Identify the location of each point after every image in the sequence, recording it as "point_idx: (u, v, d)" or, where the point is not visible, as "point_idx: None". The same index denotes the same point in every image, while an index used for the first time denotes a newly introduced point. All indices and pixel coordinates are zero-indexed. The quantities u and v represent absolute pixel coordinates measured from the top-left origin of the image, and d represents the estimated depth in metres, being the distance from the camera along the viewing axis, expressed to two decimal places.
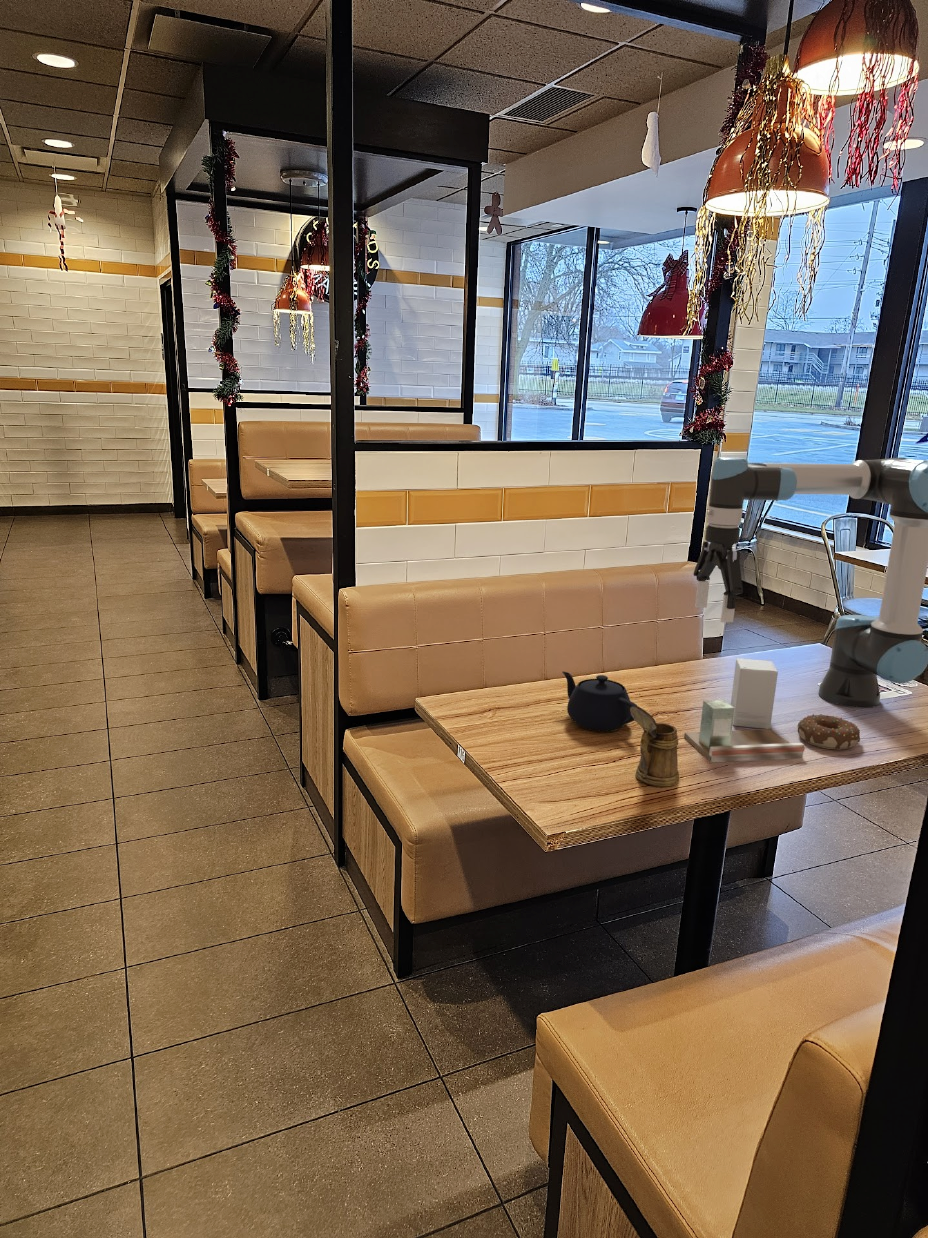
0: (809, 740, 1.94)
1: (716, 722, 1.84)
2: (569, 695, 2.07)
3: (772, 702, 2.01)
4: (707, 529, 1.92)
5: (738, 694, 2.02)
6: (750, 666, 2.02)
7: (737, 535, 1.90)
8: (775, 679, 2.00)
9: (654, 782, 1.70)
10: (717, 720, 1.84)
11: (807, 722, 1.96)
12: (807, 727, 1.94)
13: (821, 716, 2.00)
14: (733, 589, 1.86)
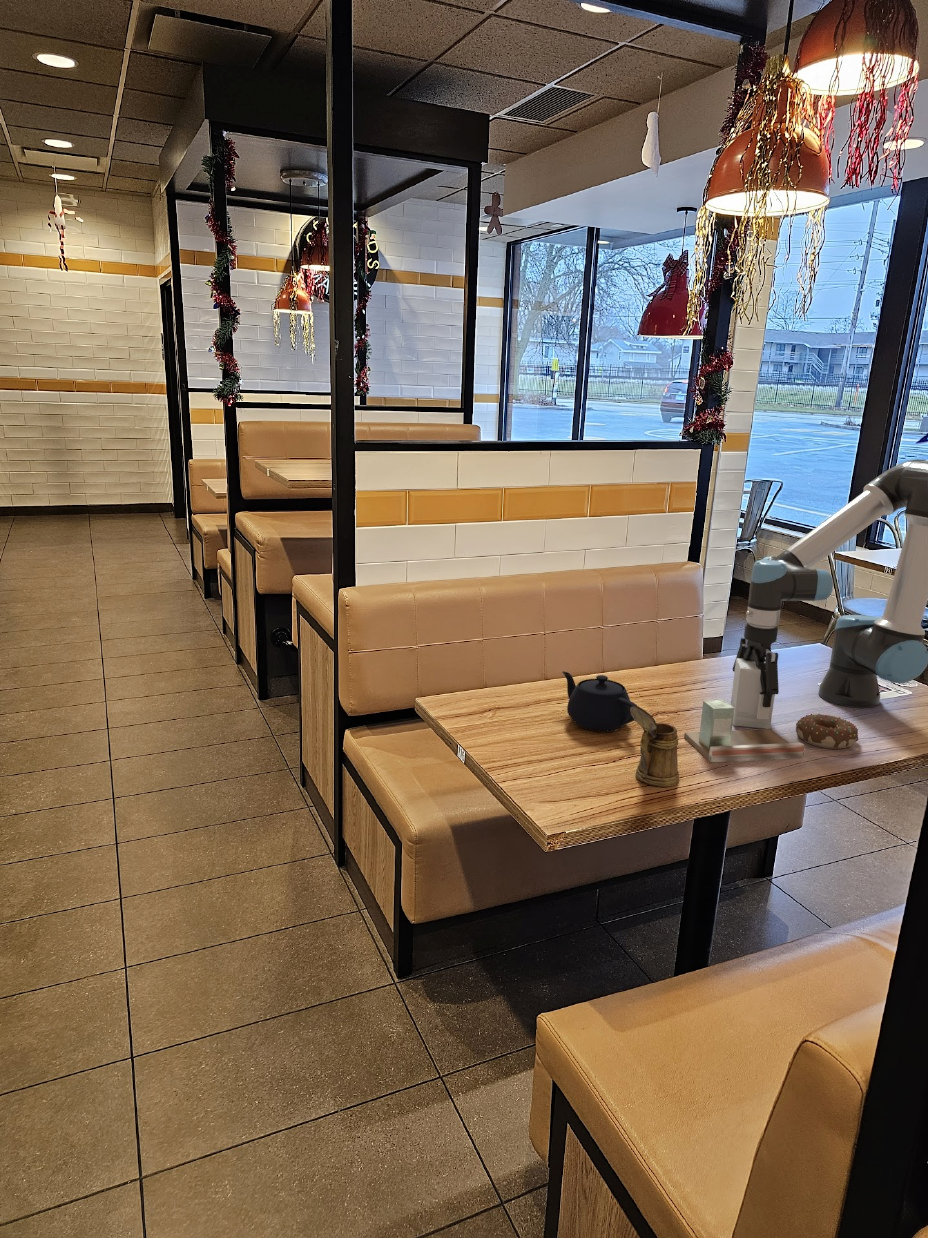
0: (807, 739, 1.94)
1: (716, 722, 1.84)
2: (569, 695, 2.07)
3: (772, 702, 2.01)
4: (746, 628, 2.01)
5: (738, 694, 2.02)
6: (750, 666, 2.02)
7: (775, 635, 1.99)
8: None
9: (654, 782, 1.70)
10: (717, 720, 1.84)
11: (805, 721, 1.97)
12: (805, 727, 1.95)
13: (819, 715, 2.00)
14: (769, 690, 1.96)
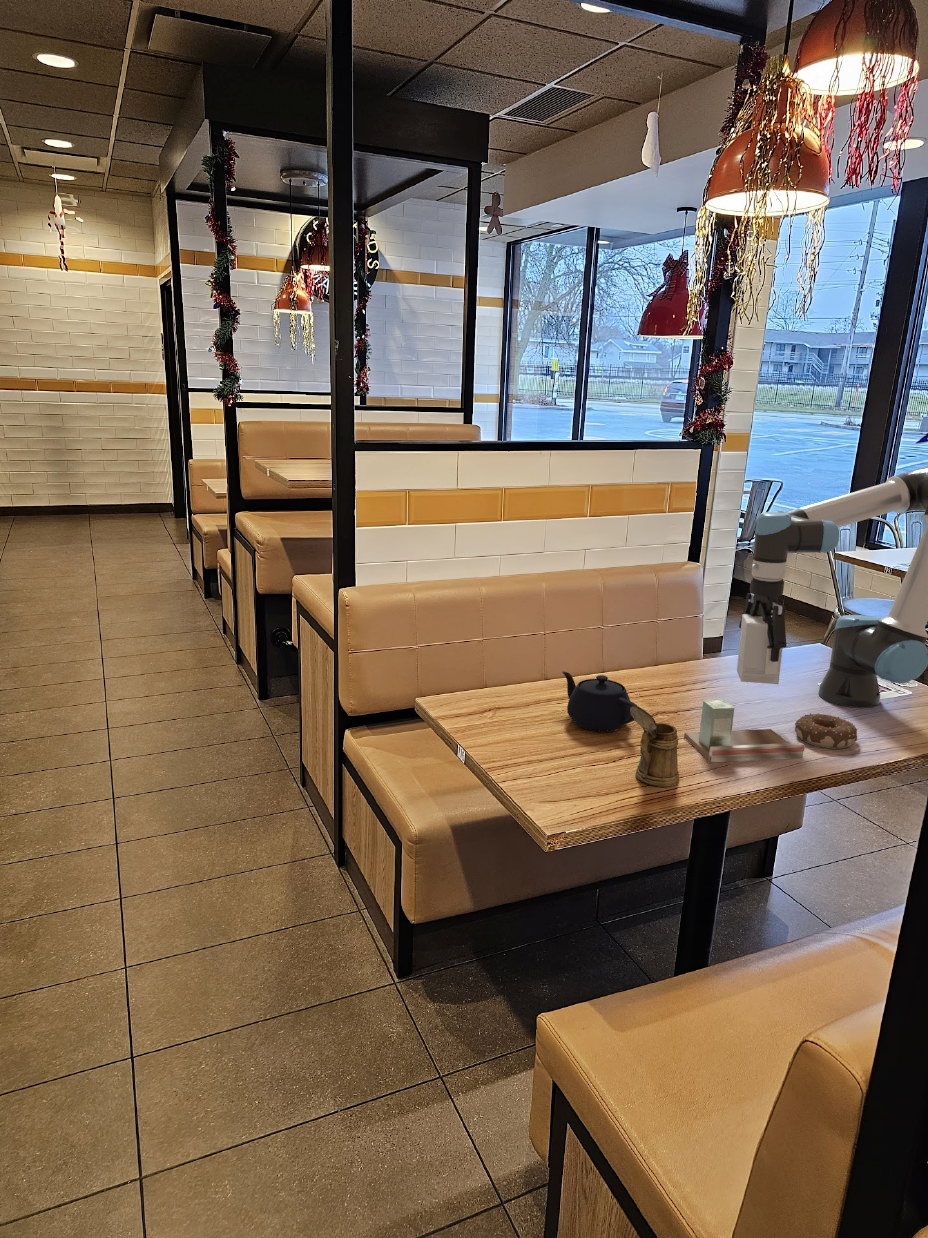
0: (806, 739, 1.94)
1: (716, 722, 1.84)
2: (569, 695, 2.07)
3: (780, 656, 1.98)
4: (752, 582, 1.98)
5: (745, 649, 1.99)
6: (756, 620, 1.99)
7: (782, 588, 1.96)
8: None
9: (654, 782, 1.70)
10: (717, 720, 1.84)
11: (804, 721, 1.97)
12: (804, 726, 1.95)
13: (818, 715, 2.00)
14: (777, 644, 1.93)
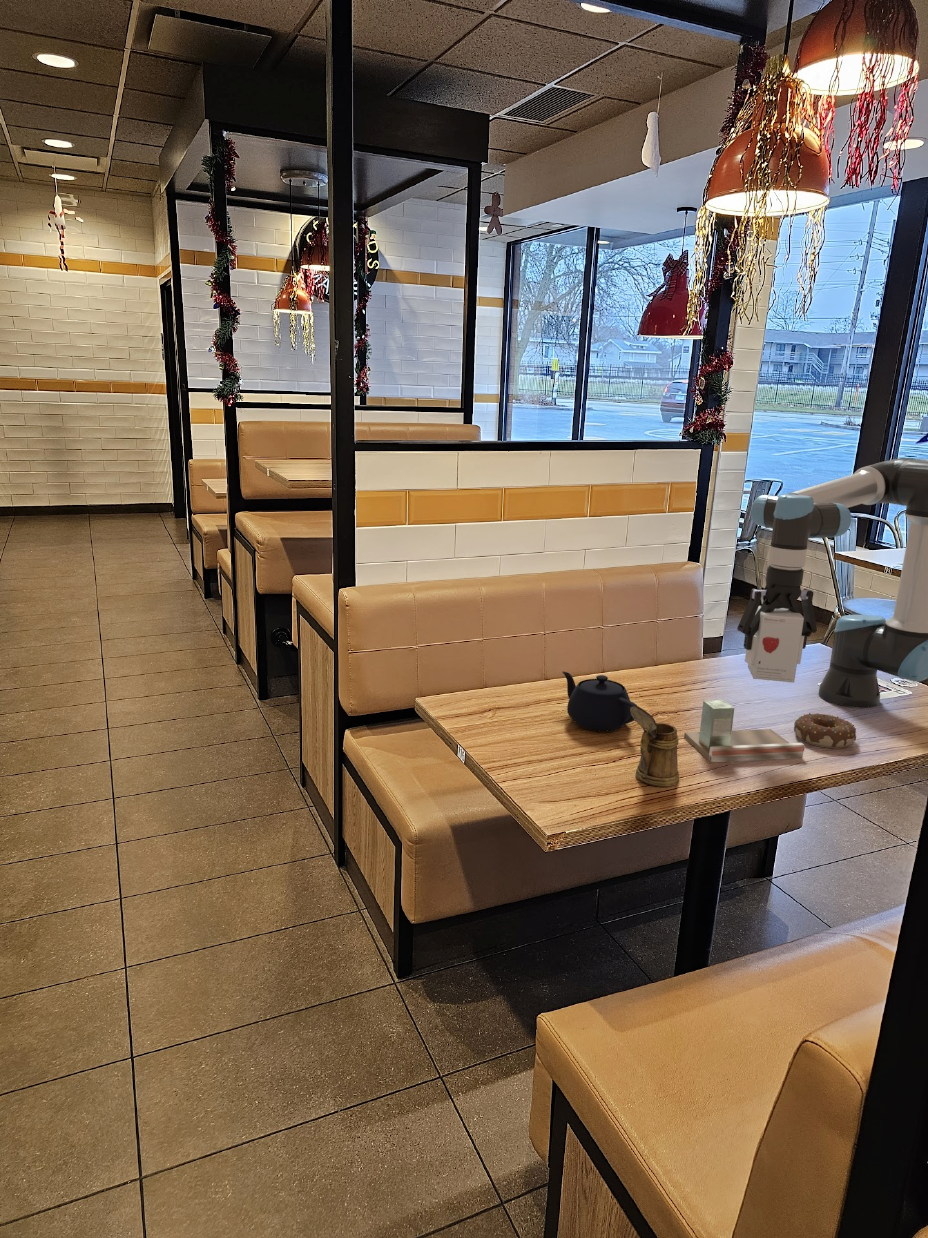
0: (805, 739, 1.94)
1: (716, 722, 1.84)
2: (569, 695, 2.07)
3: (757, 648, 1.83)
4: None
5: None
6: None
7: (777, 576, 1.80)
8: (760, 623, 1.82)
9: (654, 782, 1.70)
10: (717, 720, 1.84)
11: (803, 721, 1.97)
12: (803, 726, 1.95)
13: (817, 715, 2.01)
14: (738, 626, 1.85)
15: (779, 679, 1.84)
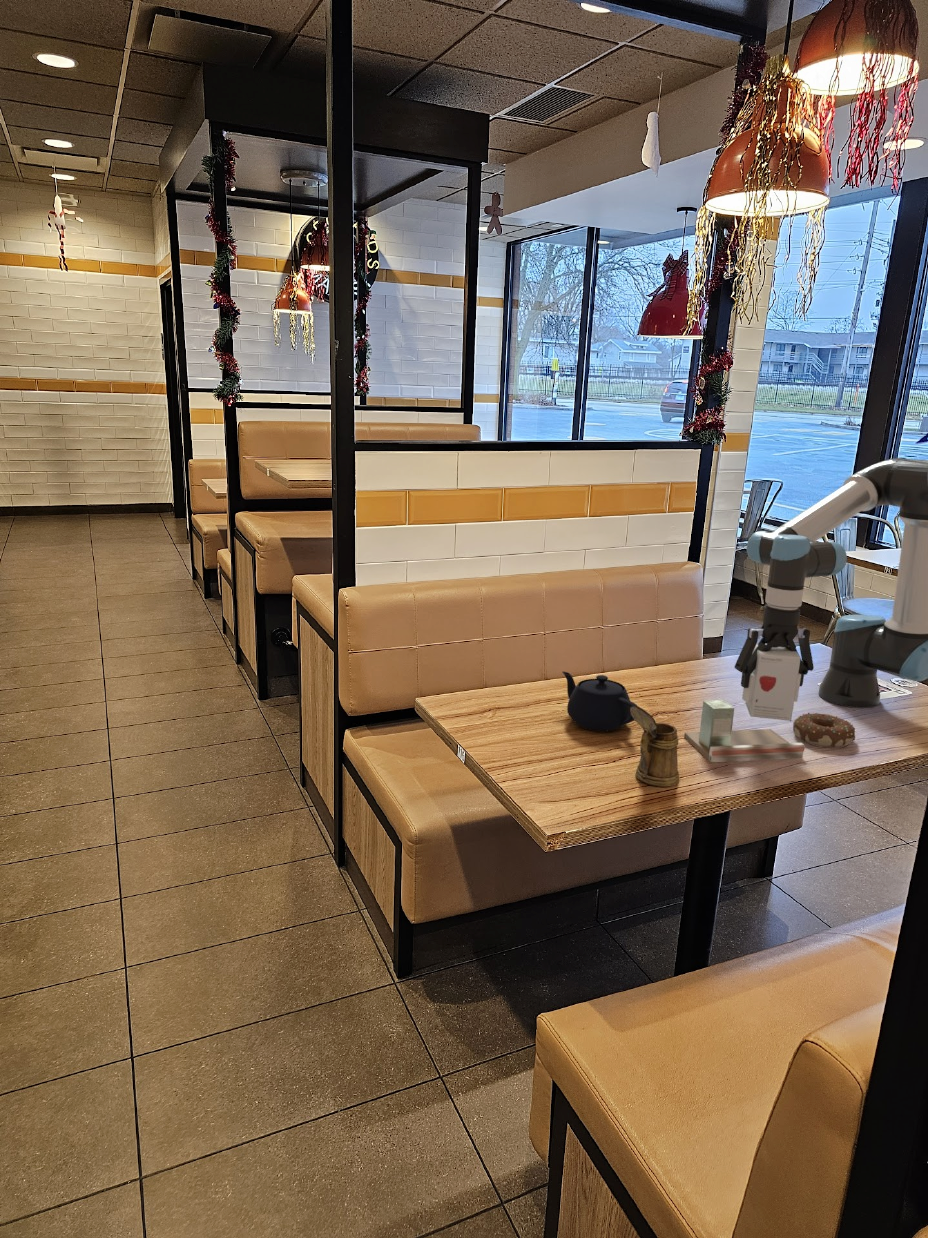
0: (804, 738, 1.94)
1: (716, 722, 1.84)
2: (569, 695, 2.07)
3: (754, 687, 1.85)
4: None
5: None
6: None
7: (773, 616, 1.81)
8: (757, 662, 1.83)
9: (654, 782, 1.70)
10: (717, 720, 1.84)
11: (802, 720, 1.97)
12: (802, 725, 1.95)
13: (816, 714, 2.01)
14: (735, 664, 1.86)
15: (776, 717, 1.85)
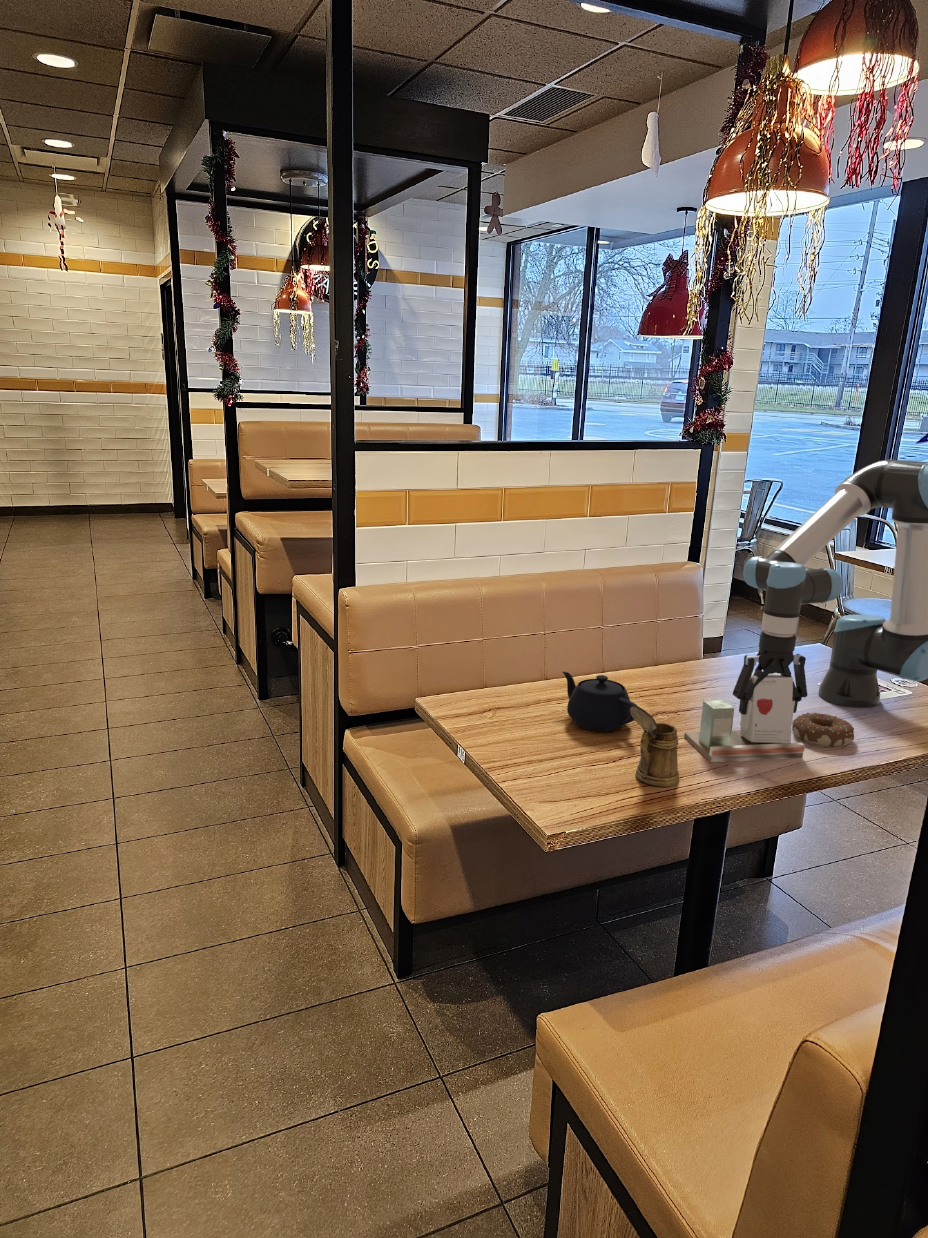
0: (803, 738, 1.95)
1: (716, 722, 1.84)
2: (569, 695, 2.07)
3: (752, 711, 1.86)
4: None
5: None
6: None
7: (769, 643, 1.82)
8: None
9: (654, 782, 1.70)
10: (717, 720, 1.84)
11: (801, 720, 1.97)
12: (801, 725, 1.96)
13: (815, 714, 2.01)
14: (733, 691, 1.88)
15: (776, 741, 1.86)
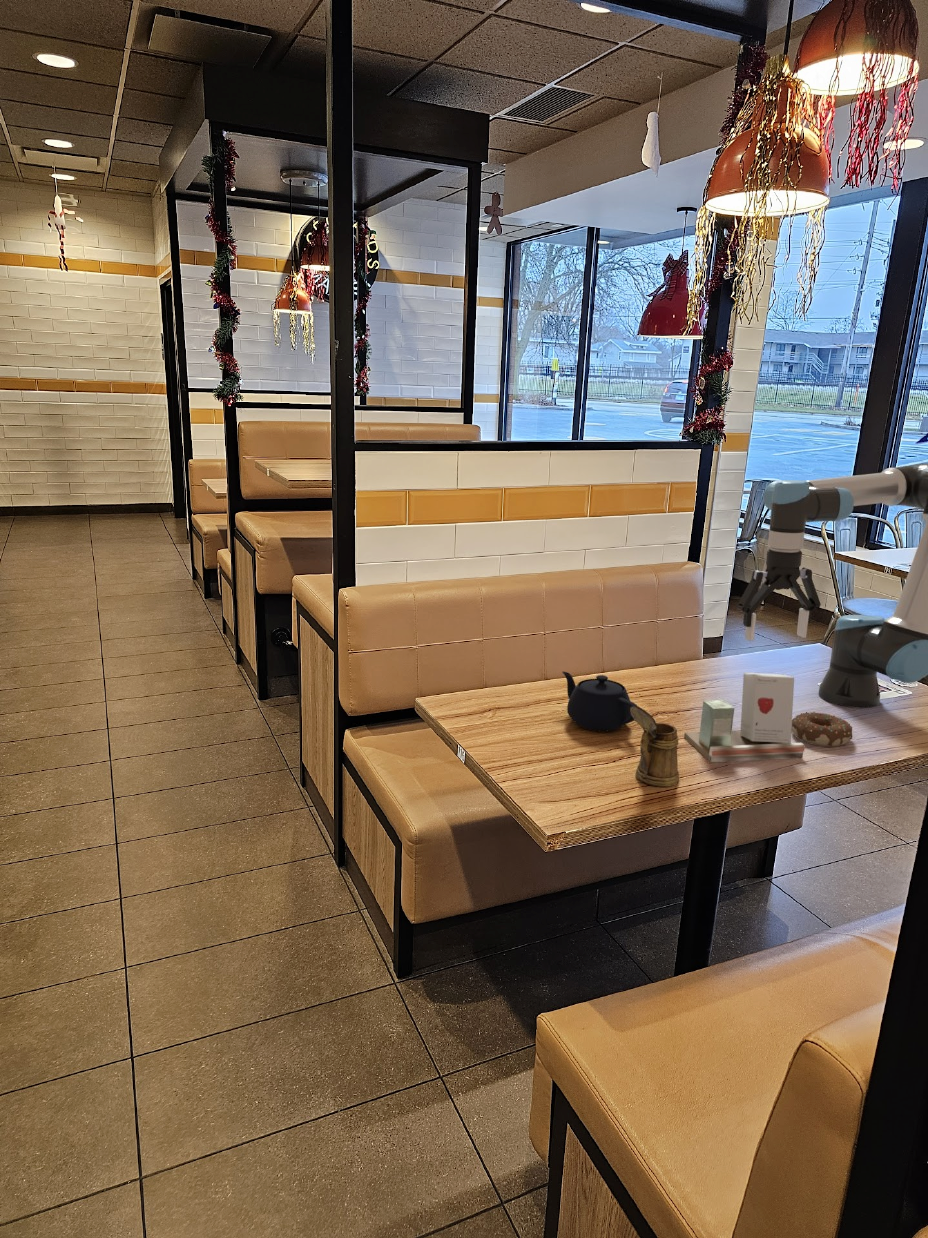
0: (802, 737, 1.95)
1: (716, 722, 1.84)
2: (569, 695, 2.07)
3: (753, 710, 1.87)
4: None
5: (742, 700, 1.95)
6: (757, 673, 1.92)
7: (777, 559, 1.88)
8: (754, 684, 1.87)
9: (654, 782, 1.70)
10: (717, 720, 1.84)
11: (800, 719, 1.98)
12: (800, 725, 1.96)
13: (814, 714, 2.01)
14: (738, 604, 1.93)
15: (776, 740, 1.86)
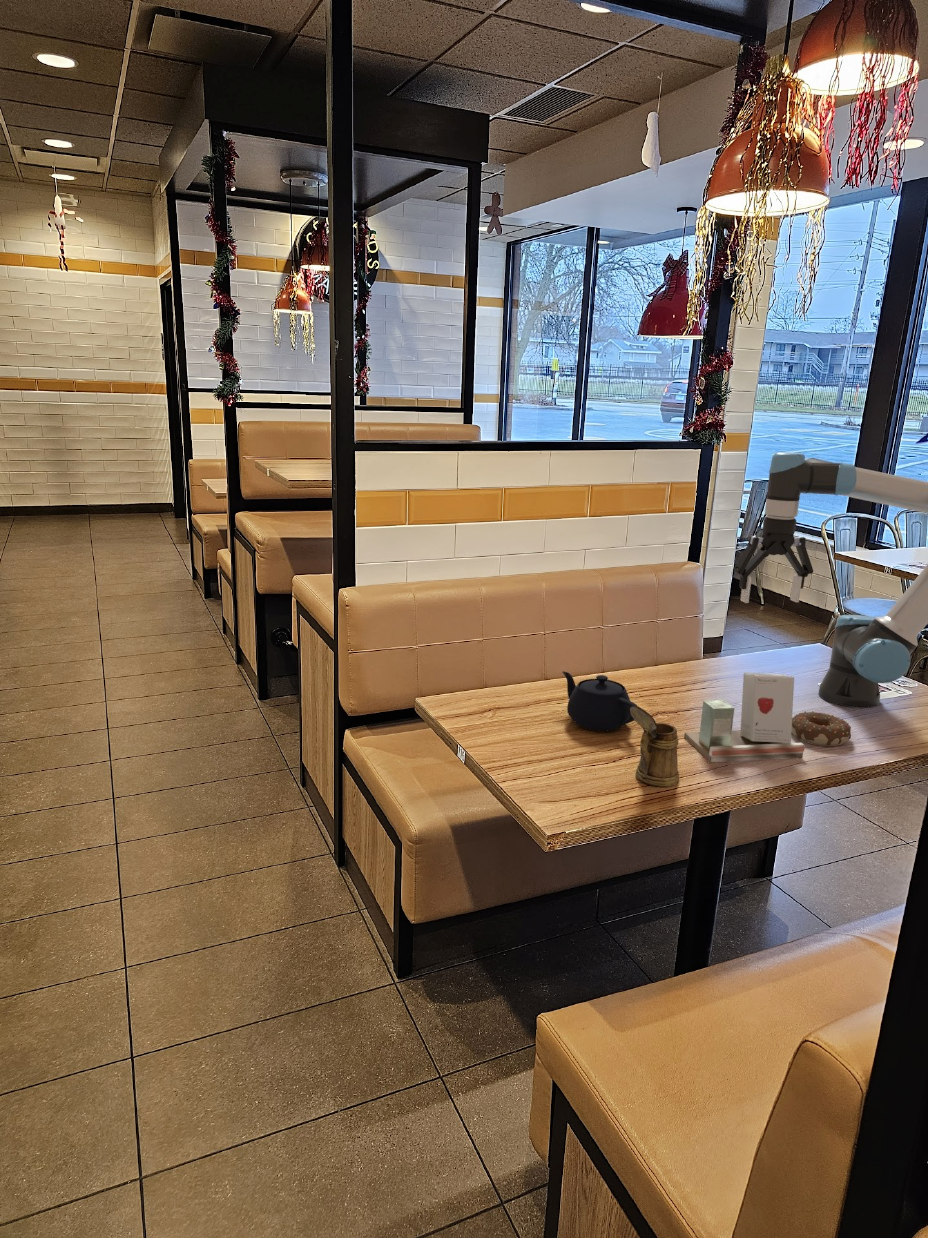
0: (800, 737, 1.95)
1: (716, 722, 1.84)
2: (569, 695, 2.07)
3: (753, 710, 1.87)
4: None
5: (742, 700, 1.95)
6: (757, 673, 1.92)
7: (772, 525, 2.01)
8: (754, 684, 1.87)
9: (654, 782, 1.70)
10: (717, 720, 1.84)
11: (798, 719, 1.98)
12: (798, 724, 1.96)
13: (813, 713, 2.01)
14: (734, 568, 2.06)
15: (776, 740, 1.86)
